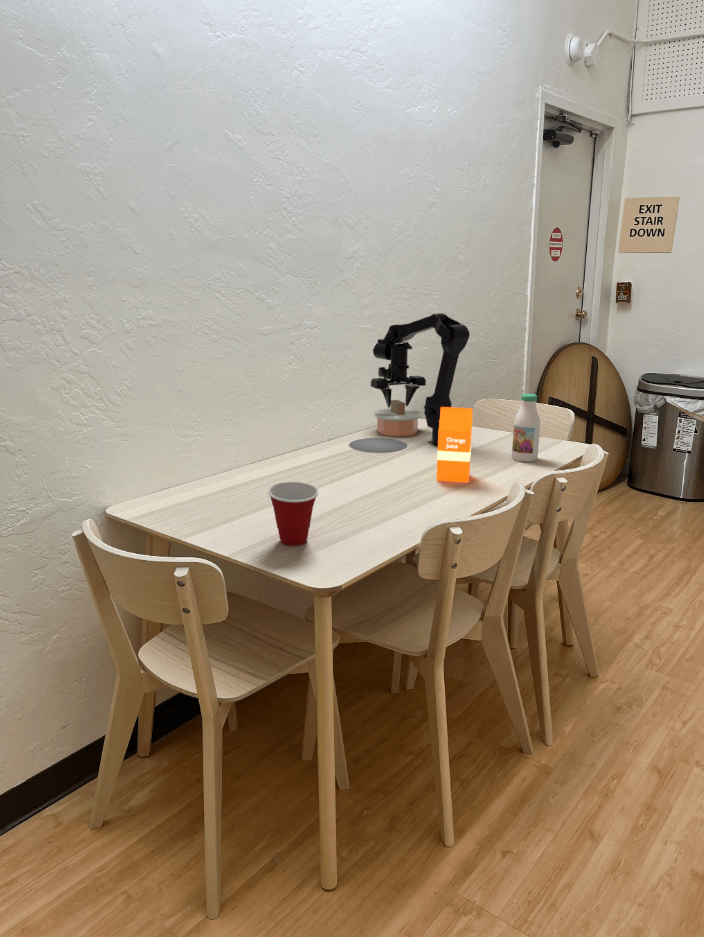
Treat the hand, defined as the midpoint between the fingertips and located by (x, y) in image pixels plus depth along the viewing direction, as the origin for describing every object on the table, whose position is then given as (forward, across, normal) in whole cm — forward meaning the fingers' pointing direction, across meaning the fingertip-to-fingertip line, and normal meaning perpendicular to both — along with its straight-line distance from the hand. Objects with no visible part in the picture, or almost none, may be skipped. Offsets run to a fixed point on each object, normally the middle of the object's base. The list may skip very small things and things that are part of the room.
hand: (397, 406), depth 247 cm
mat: (+9, +14, +14) cm, 22 cm away
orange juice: (+10, +9, +53) cm, 55 cm away
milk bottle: (+10, -21, +45) cm, 50 cm away
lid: (+3, 0, 0) cm, 3 cm away
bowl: (+9, 0, 0) cm, 9 cm away
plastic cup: (+10, +65, +80) cm, 103 cm away
